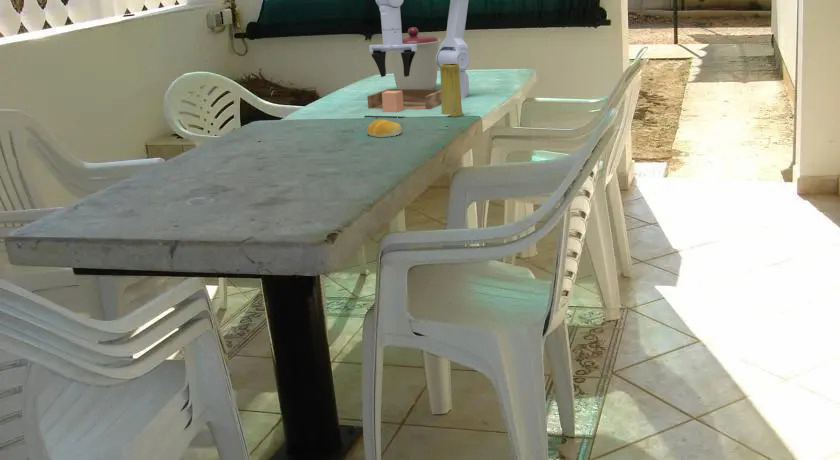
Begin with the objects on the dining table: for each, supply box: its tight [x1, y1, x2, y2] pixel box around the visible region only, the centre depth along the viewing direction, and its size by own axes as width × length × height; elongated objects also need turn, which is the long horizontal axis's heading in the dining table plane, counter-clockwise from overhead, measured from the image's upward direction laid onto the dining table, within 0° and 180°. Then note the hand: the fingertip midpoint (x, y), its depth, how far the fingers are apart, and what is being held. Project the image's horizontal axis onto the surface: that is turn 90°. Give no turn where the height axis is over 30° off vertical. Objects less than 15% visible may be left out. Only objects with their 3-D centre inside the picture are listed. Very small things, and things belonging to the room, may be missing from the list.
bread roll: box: [366, 118, 403, 138], centre depth 227 cm, size 8×9×4 cm
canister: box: [389, 27, 442, 89], centre depth 298 cm, size 18×18×21 cm
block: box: [382, 91, 405, 113], centre depth 257 cm, size 4×4×6 cm
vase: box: [439, 63, 464, 118], centre depth 247 cm, size 6×6×14 cm
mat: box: [364, 115, 405, 119], centre depth 257 cm, size 10×12×1 cm
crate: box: [366, 88, 442, 110], centre depth 267 cm, size 14×20×4 cm
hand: (395, 76), depth 261 cm, fingers open, 7 cm apart
